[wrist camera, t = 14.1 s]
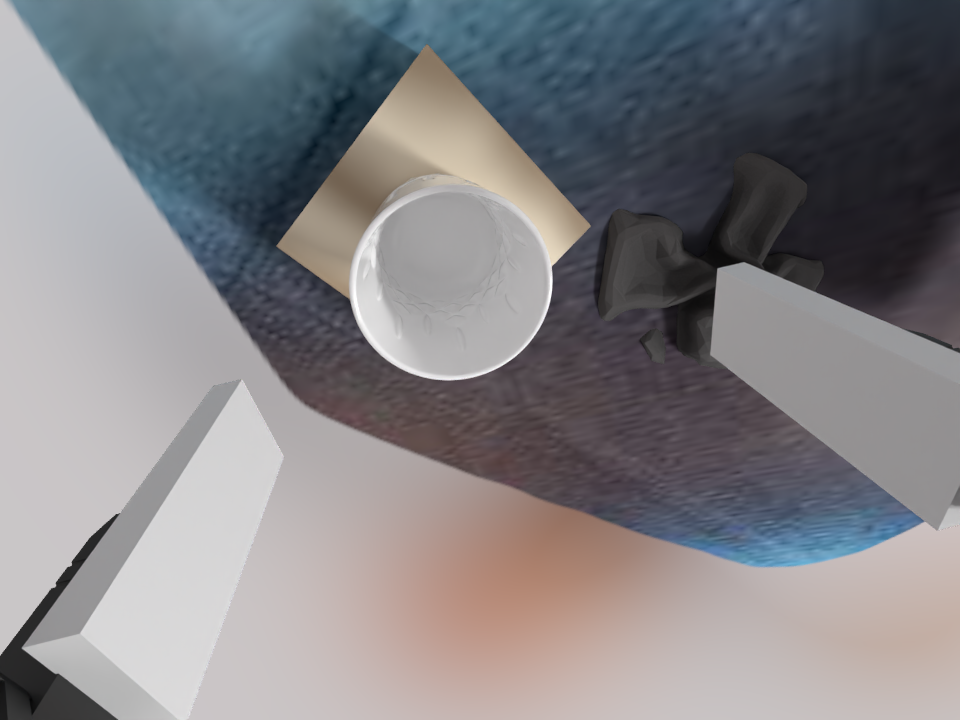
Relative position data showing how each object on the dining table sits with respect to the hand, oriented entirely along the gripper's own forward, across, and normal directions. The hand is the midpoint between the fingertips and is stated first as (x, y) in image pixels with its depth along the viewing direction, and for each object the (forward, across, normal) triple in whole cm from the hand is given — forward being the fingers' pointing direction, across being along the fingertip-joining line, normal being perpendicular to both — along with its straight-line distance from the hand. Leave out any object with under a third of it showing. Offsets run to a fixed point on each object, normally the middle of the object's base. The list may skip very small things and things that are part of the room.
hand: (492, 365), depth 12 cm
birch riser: (+21, 0, 0) cm, 21 cm away
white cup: (+16, +1, 0) cm, 16 cm away
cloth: (+22, -21, +10) cm, 32 cm away
